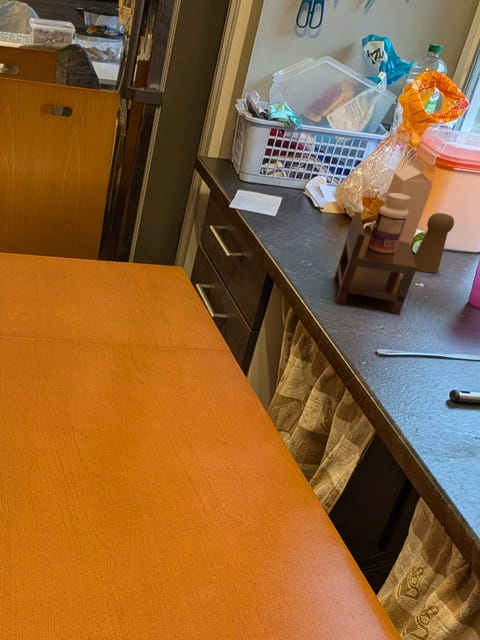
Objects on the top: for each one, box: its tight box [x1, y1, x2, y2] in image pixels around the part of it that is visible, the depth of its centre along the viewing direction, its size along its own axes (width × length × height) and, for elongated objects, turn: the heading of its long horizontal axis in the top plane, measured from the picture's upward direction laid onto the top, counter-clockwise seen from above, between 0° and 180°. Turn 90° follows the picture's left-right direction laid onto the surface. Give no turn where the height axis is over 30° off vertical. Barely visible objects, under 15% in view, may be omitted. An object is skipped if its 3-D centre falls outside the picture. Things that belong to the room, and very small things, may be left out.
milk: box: [383, 157, 434, 275], centre depth 189 cm, size 6×6×22 cm
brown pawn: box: [413, 212, 455, 273], centre depth 199 cm, size 6×6×11 cm
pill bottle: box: [368, 193, 410, 254], centre depth 176 cm, size 5×5×10 cm
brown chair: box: [333, 211, 417, 316], centre depth 181 cm, size 12×16×13 cm
